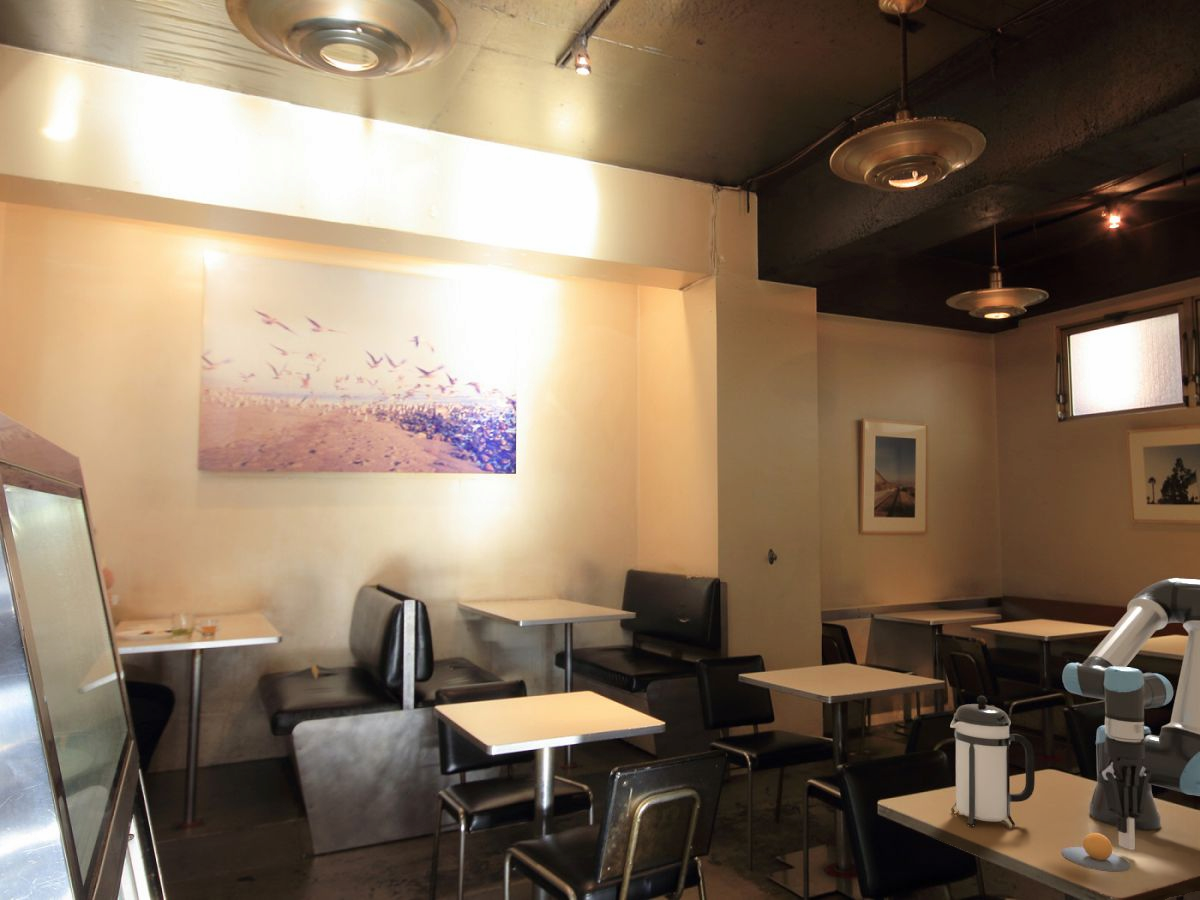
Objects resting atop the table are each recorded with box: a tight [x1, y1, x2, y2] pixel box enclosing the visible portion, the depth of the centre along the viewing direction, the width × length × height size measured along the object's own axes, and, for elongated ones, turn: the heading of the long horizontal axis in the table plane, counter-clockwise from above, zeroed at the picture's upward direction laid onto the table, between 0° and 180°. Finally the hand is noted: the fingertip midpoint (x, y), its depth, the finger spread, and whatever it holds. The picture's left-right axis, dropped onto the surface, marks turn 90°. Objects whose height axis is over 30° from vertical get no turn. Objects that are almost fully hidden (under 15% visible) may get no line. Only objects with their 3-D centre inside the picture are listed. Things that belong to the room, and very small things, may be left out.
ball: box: [1082, 832, 1113, 860], centre depth 184 cm, size 6×6×6 cm
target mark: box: [1061, 846, 1132, 872], centre depth 184 cm, size 13×13×1 cm
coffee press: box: [950, 695, 1036, 830], centre depth 208 cm, size 17×16×30 cm
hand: (1126, 846), depth 187 cm, fingers closed
